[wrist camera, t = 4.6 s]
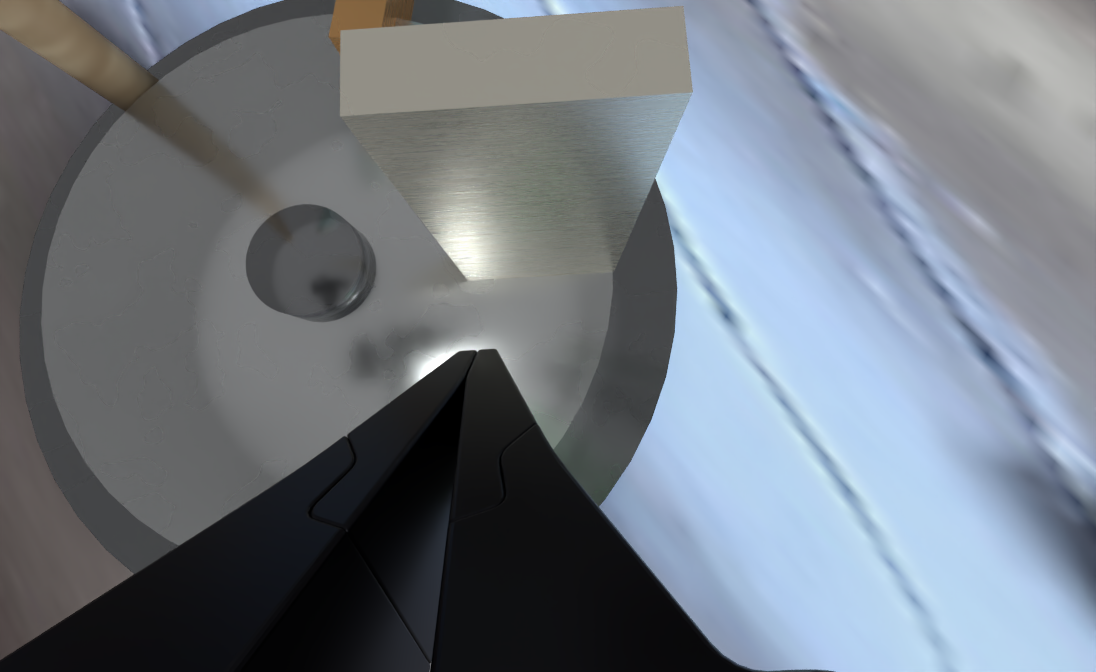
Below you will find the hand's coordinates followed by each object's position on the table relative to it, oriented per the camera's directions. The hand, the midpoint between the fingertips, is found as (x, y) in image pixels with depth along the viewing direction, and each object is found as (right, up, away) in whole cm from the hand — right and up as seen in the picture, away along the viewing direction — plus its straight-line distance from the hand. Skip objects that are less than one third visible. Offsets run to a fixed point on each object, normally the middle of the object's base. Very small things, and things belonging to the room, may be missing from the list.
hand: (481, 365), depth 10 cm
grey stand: (-7, +4, +9) cm, 12 cm away
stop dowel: (-17, +11, +11) cm, 23 cm away
